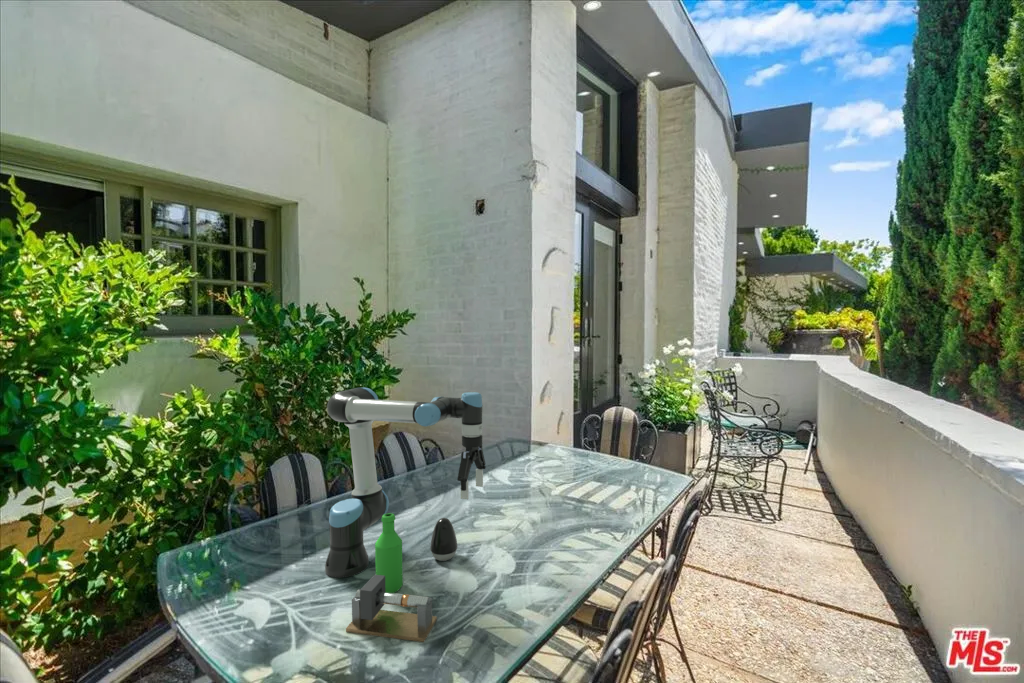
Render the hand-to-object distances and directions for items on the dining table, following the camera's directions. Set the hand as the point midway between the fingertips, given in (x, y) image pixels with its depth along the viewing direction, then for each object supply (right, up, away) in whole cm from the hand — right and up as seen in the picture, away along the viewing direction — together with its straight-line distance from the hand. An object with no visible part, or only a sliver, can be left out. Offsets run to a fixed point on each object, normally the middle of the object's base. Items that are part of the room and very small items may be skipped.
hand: (472, 492), depth 166 cm
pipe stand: (-21, -28, -33) cm, 48 cm away
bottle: (-27, -28, -13) cm, 41 cm away
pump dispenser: (-11, -28, +7) cm, 31 cm away
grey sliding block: (-27, -24, -32) cm, 48 cm away
